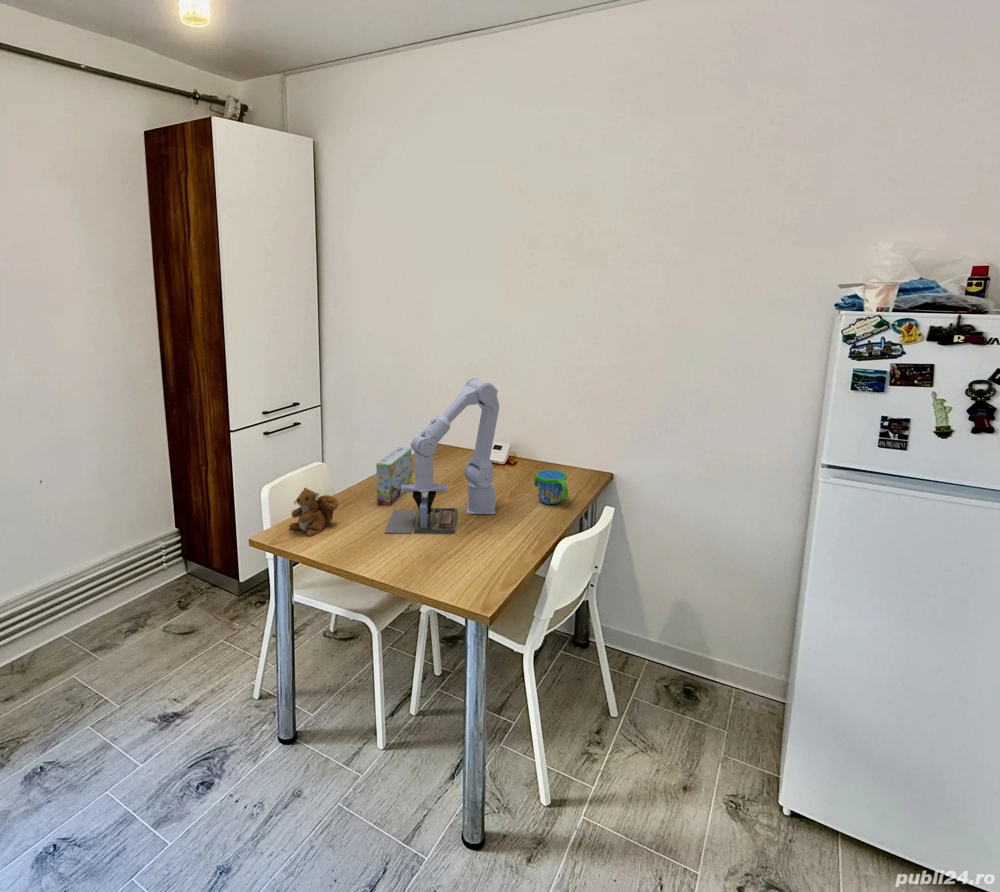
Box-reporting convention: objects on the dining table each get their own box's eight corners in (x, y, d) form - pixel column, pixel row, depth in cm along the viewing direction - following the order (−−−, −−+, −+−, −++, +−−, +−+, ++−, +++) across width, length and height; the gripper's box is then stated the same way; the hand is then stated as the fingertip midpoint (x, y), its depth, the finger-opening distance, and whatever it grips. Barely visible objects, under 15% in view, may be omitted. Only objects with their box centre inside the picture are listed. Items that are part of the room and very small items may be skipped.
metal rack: (457, 511, 199) (457, 508, 198) (454, 533, 182) (454, 530, 182) (420, 511, 198) (420, 507, 198) (413, 533, 182) (413, 529, 181)
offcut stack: (452, 514, 196) (452, 509, 196) (450, 529, 185) (450, 523, 184) (443, 514, 196) (443, 508, 195) (441, 529, 185) (440, 523, 184)
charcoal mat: (417, 510, 199) (417, 509, 199) (410, 533, 181) (410, 532, 181) (393, 510, 199) (393, 509, 198) (384, 533, 181) (384, 532, 181)
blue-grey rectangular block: (430, 513, 196) (429, 493, 194) (426, 528, 184) (426, 507, 182) (424, 512, 196) (423, 493, 194) (420, 528, 184) (419, 507, 182)
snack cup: (575, 506, 205) (577, 478, 202) (550, 512, 200) (551, 483, 197) (550, 492, 218) (551, 465, 215) (525, 496, 212) (526, 470, 210)
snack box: (392, 506, 202) (390, 464, 198) (376, 504, 203) (374, 463, 199) (413, 485, 222) (412, 446, 218) (399, 484, 223) (397, 445, 219)
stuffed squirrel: (286, 529, 183) (282, 489, 179) (326, 516, 193) (323, 478, 190) (304, 539, 177) (300, 498, 173) (344, 525, 187) (341, 485, 183)
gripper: (399, 477, 181) (400, 518, 185) (446, 477, 182) (447, 518, 186) (402, 469, 188) (403, 509, 192) (448, 469, 189) (448, 509, 192)
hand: (425, 513), depth 189 cm, fingers closed on blue-grey rectangular block, 2 cm apart
